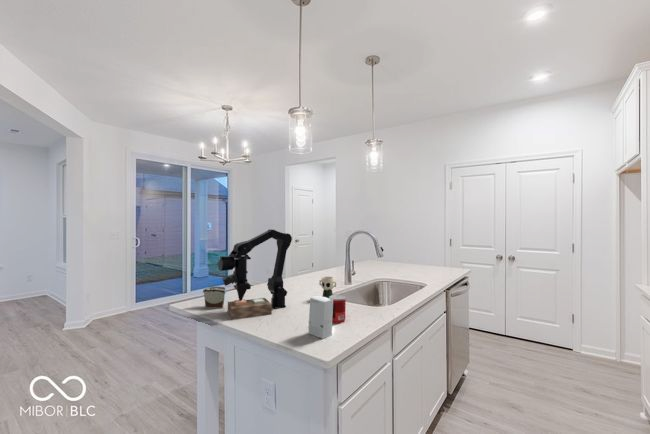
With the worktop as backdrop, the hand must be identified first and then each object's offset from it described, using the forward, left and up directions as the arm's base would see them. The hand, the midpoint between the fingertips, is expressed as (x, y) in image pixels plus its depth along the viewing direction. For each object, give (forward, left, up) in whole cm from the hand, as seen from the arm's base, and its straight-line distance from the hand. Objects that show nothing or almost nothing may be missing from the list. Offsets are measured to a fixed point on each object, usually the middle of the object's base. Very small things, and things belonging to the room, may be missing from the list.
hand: (240, 300), depth 147 cm
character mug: (-51, -6, -7) cm, 52 cm away
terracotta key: (0, 0, -4) cm, 4 cm away
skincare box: (-25, +40, -7) cm, 48 cm away
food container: (+9, -19, -7) cm, 22 cm away
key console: (-4, 0, -7) cm, 8 cm away
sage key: (-9, 0, -4) cm, 10 cm away
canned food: (-39, +28, -7) cm, 49 cm away
